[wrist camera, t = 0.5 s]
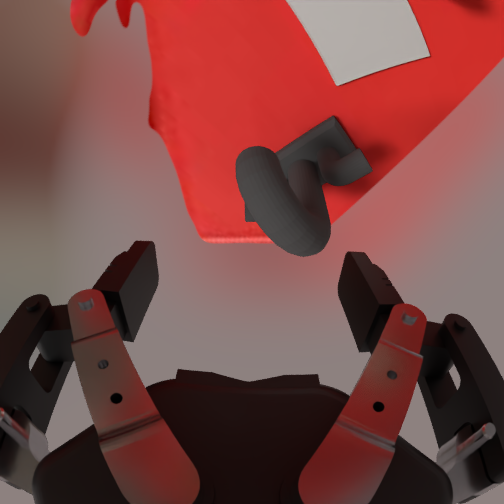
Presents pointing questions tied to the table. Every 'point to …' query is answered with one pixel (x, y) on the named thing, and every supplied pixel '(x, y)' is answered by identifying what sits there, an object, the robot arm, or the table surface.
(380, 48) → the grey board
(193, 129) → the table surface
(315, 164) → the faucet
